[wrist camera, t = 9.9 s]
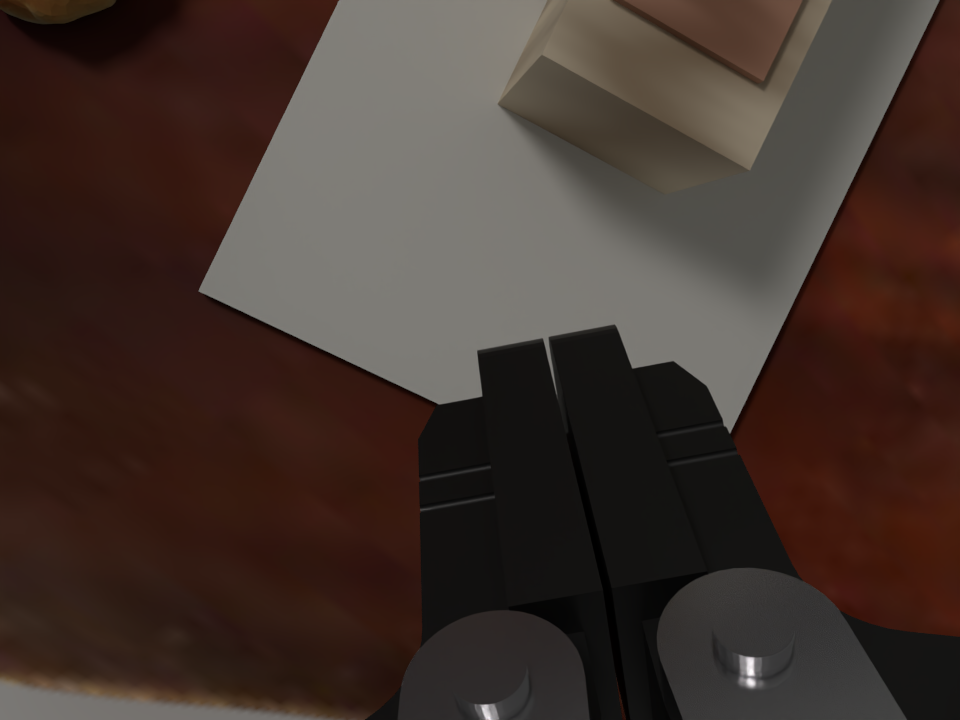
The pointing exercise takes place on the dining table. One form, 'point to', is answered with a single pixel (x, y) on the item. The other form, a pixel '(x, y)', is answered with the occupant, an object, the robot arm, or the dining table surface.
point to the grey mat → (534, 205)
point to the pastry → (53, 9)
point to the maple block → (663, 81)
